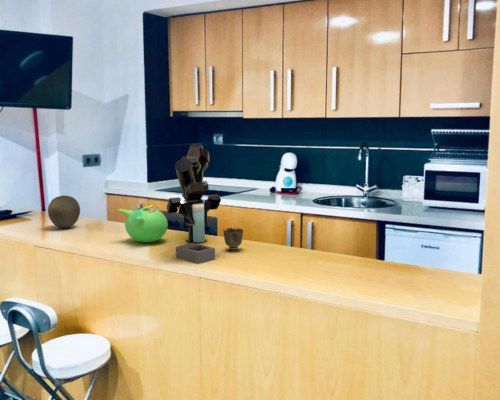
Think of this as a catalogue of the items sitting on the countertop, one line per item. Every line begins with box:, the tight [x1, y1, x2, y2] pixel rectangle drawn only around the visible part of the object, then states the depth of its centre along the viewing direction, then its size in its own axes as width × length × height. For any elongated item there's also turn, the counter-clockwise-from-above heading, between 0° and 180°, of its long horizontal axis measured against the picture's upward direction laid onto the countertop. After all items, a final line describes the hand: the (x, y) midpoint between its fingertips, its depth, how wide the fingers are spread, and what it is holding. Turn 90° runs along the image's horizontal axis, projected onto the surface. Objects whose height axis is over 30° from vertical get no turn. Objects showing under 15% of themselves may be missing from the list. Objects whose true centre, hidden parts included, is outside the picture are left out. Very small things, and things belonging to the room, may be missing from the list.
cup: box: [222, 227, 244, 252], centre depth 200 cm, size 8×7×8 cm
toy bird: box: [117, 204, 169, 243], centre depth 215 cm, size 18×17×15 cm
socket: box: [175, 242, 216, 265], centre depth 189 cm, size 12×8×4 cm, turn 46°
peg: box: [192, 203, 206, 243], centre depth 186 cm, size 4×4×13 cm
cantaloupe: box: [47, 195, 81, 229], centre depth 242 cm, size 14×14×15 cm
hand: (199, 223), depth 184 cm, fingers closed on peg, 4 cm apart
